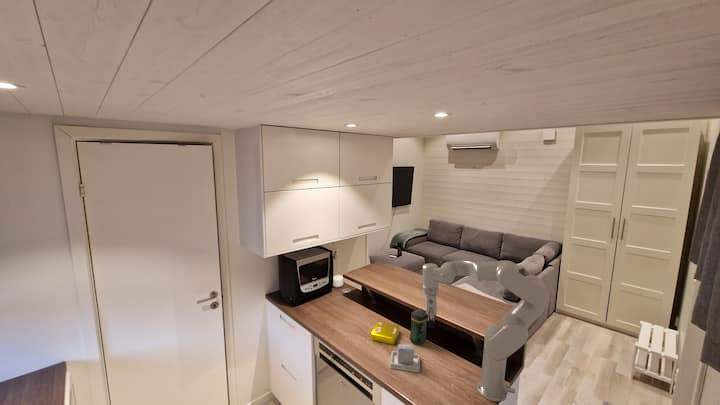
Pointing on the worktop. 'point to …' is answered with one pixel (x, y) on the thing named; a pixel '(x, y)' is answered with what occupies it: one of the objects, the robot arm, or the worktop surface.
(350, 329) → the worktop surface
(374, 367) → the worktop surface
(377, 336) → the element tile
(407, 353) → the medicine box
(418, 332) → the coffee jar
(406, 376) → the worktop surface
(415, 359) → the white rectangular tray
